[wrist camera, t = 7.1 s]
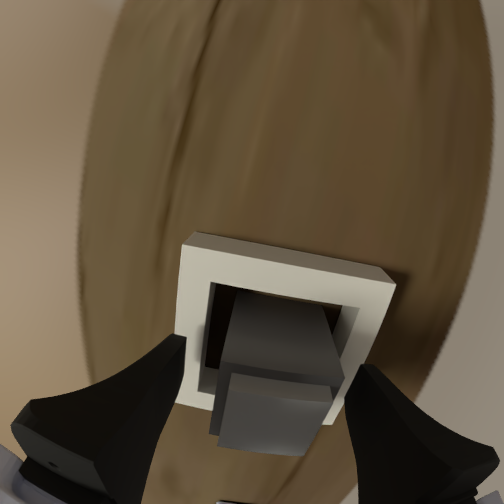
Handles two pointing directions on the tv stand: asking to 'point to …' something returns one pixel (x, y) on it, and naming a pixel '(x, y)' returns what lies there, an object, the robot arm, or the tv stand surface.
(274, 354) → the stepped grey plug block
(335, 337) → the socket block
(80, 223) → the tv stand surface
